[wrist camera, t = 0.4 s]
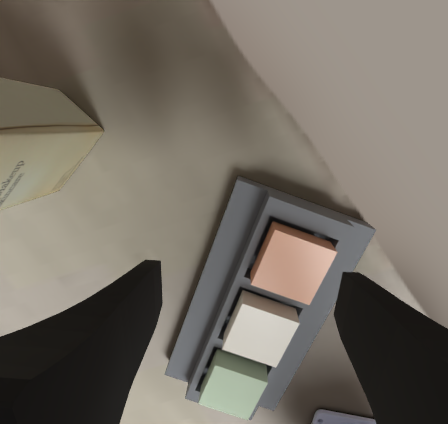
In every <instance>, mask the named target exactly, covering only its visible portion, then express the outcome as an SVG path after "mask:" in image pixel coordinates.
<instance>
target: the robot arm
mask: <svg viewBox="0 0 448 424" xmlns="http://www.w3.org/2000/svg"><path fill="white" fill-rule="evenodd" d="M161 307H162V279H161V261H156V260H145V261H143V262H142V263H140V264H139V265H137V266H136V267H134V268H133V269H132V270H130V271H129V272H127V273H126V274H124V275H123V276H122V277H120V278H119V279H117V280H116V281H114V282H113V283H111V284H110V285H108V286H107V287H105V288H103V289H102V290H100V291H99V292H97V293H95V294H94V295H92V296H91V297H89V298H87V299H85V300H84V301H82V302H80V303H78V304H76V305H74V306H72V307H70V308H69V309H67V310H65V311H63V312H61V313H58V314H56V315H54V316H52V317H49V318H47V319H45V320H42V321H40V322H38V323H35V324H33V325H31V326H28V327H26V328H23V329H21V330H18V331H15V332H13V333H10V334H7V335H4V336H1V337H0V424H119V423H120V420H121V417H122V414H123V410H124V407H125V404H126V401H127V398H128V394H129V391H130V389H131V386H132V383H133V381H134V378H135V376H136V373H137V371H138V368H139V366H140V364H141V361H142V359H143V357H144V354H145V352H146V350H147V347H148V345H149V342H150V340H151V338H152V335H153V333H154V330H155V328H156V325H157V322H158V318H159V315H160V311H161ZM334 317H335V321H336V324H337V328H338V331H339V334H340V338H341V340H342V343H343V345H344V347H345V349H346V352H347V354H348V356H349V359H350V361H351V363H352V365H353V368H354V370H355V372H356V374H357V376H358V379H359V381H360V383H361V385H362V388H363V390H364V392H365V394H366V397H367V399H368V402H369V404H370V407H371V409H372V412H373V415H374V418H375V419H370V418H365V417H360V416H354V415H349V414H344V413H338V412H333V411H328V410H323V409H319V410H317V411H316V412H315V415H314V418H313V421H312V423H311V424H448V329H447V328H445V327H444V326H442V325H440V324H438V323H437V322H435V321H433V320H432V319H430V318H428V317H427V316H425V315H423V314H422V313H420V312H418V311H417V310H415V309H414V308H412V307H411V306H409V305H407V304H406V303H404V302H403V301H401V300H400V299H398V298H397V297H395V296H394V295H392V294H391V293H389V292H388V291H387V290H385V289H384V288H382V287H381V286H379V285H378V284H376V283H375V282H373V281H372V280H370V279H369V278H367V277H365V276H364V275H362V274H360V273H357V272H343V273H342V278H341V282H340V287H339V292H338V297H337V301H336V306H335V311H334Z"/></svg>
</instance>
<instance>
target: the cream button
mask: <svg viewBox="0 0 448 424" xmlns="http://www.w3.org/2000/svg"><path fill="white" fill-rule="evenodd" d="M299 324H300V323H299V319H298V315H297V311H296V308H293V307H290V306H288V305H285V304H282V303H279V302H276V301H273V300H270V299H267V298H265V297H262V296H259V295H256V294H253V293H250V292H247V291H244V290H242V293H241V295H240V297H239V299H238V302H237V304H236V306H235V309H234V311H233V313H232V316H231V318H230V320H229V322H228V325H227V327H226V329H225V332H224V336H223V346H222V350H225V351H228V352H231V353H234V354H237V355H240V356H243V357H246V358H249V359H252V360H255V361H258V362H261V363H264V364H267V365H270V366H273V367H275V368H276V367H277V365H278V363H279V361H280V359H281V358H282V356H283V354H284V352H285V350H286V348H287V346H288V344H289V343H290V341H291V339H292V337H293V335H294V333H295V331H296V329H297V328H298V326H299Z"/></svg>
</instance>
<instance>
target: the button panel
mask: <svg viewBox="0 0 448 424" xmlns="http://www.w3.org/2000/svg"><path fill="white" fill-rule="evenodd" d="M272 221H274V222H277V223H280V224H283V225H286V226H288V227H291V228H294V229H297V230H300V231H302V232H305V233H308V234H311V235H313V236H316V237H319V238H322V239H325V240H327V241H330V242H331V243H332V245H333V246H334V248H335V249H336V251H337V252H338V253H337V254H336V256H335V258H334V260H333V262H332V264H331V266H330V268H329V269H328V271H327V273H326V275H325V277H324V279H323V281H322V283H321V284H320V286H319V288H318V290H317V292H316V294H315V296H314V298H313V299H312V301H311V303H310V305H307V304H304V303H301V302H299V301H296V300H293V299H290V298H287V297H284V296H281V295H278V294H276V293H273V292H270V291H267V290H264V289H261V288H258V287H256V286H253V285H251V277H250V272H251V270H252V267H253V265H254V263H255V260H256V258H257V256H258V253H259V251H260V249H261V247H262V244H263V242H264V240H265V237H266V235H267V233H268V230H269V228H270V226H271V224H272ZM375 231H376V230H375V229H374V228H373V227H372V226H371V225H370V224H368V223H367V222H364V221H362V220H359V219H356V218H353V217H351V216H348V215H345V214H342V213H340V212H337V211H334V210H331V209H329V208H326V207H323V206H320V205H318V204H315V203H312V202H309V201H307V200H304V199H301V198H298V197H296V196H293V195H290V194H287V193H285V192H282V191H279V190H276V189H274V188H271V187H268V186H265V185H263V184H260V183H257V182H254V181H252V180H249V179H246V178H243V177H241V176H238V177H237V180H236V182H235V185H234V188H233V190H232V193H231V196H230V198H229V201H228V204H227V206H226V209H225V212H224V215H223V217H222V220H221V223H220V225H219V228H218V231H217V233H216V236H215V239H214V241H213V244H212V247H211V249H210V252H209V255H208V257H207V260H206V263H205V266H204V268H203V271H202V274H201V276H200V279H199V282H198V284H197V287H196V290H195V292H194V295H193V298H192V300H191V303H190V306H189V308H188V311H187V314H186V317H185V319H184V322H183V325H182V327H181V330H180V333H179V335H178V338H177V341H176V343H175V346H174V349H173V351H172V354H171V357H170V360H169V362H168V366H167V369H166V372H165V375H167V376H170V377H173V378H176V379H179V380H182V381H185V382H188V387H187V391H186V396H185V399H188V400H191V401H194V402H197V403H198V401H199V395H200V389H201V385H202V382H203V380H204V378H205V375H206V373H207V371H208V369H209V366H210V364H211V362H212V359H213V357H214V355H215V352H216V350H217V348H218V349H221V350H222V346H223V336H224V332H225V329H226V327H227V325H228V322H229V320H230V318H231V316H232V313H233V311H234V309H235V306H236V304H237V302H238V299H239V297H240V295H241V293H242V290H244V291H247V292H250V293H253V294H256V295H259V296H262V297H265V298H267V299H270V300H273V301H276V302H279V303H282V304H285V305H288V306H290V307H293V308H296V311H297V315H298V319H299V323H300V324H299V326H298V328H297V329H296V331H295V333H294V335H293V337H292V339H291V341H290V343H289V344H288V346H287V348H286V350H285V352H284V354H283V356H282V358H281V359H280V361H279V363H278V365H277V367H276V368H275V367H273V366H270V365H267V364H265V365H266V366H267V377H268V384H267V386H266V388H265V389H264V391H263V393H262V395H261V397H260V399H259V401H258V403H257V404H256V406H255V408H254V410H253V412H252V414H251V416H250V418H249V420H251V419H252V418H253V416H254V414H255V412H256V410H257V408H258V406H261V407H264V408H267V409H270V410H273V411H274V410H275V408H276V406H277V405H278V403H279V401H280V399H281V398H282V396H283V394H284V392H285V390H286V389H287V387H288V385H289V383H290V382H291V380H292V378H293V376H294V375H295V373H296V371H297V369H298V367H299V366H300V364H301V362H302V360H303V359H304V357H305V355H306V353H307V352H308V350H309V348H310V346H311V344H312V343H313V341H314V339H315V337H316V336H317V334H318V332H319V330H320V329H321V327H322V325H323V323H324V322H325V320H326V318H327V316H328V314H329V313H330V311H331V309H332V307H333V306H334V304H335V302H336V300H337V297H338V292H339V287H340V282H341V278H342V273H343V272H353V270H354V268H355V267H356V265H357V263H358V261H359V260H360V258H361V256H362V254H363V253H364V251H365V249H366V247H367V245H368V244H369V242H370V240H371V238H372V237H373V235H374V233H375ZM224 351H225V350H224ZM227 352H228V351H227ZM230 353H231V352H230ZM233 354H234V353H233ZM236 355H237V354H236ZM238 356H240V355H238ZM241 357H243V356H241ZM244 358H246V357H244ZM247 359H249V358H247ZM250 360H252V359H250ZM253 361H255V360H253ZM256 362H258V361H256ZM259 363H261V362H259ZM262 364H264V363H262Z"/></svg>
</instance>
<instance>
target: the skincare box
mask: <svg viewBox="0 0 448 424" xmlns="http://www.w3.org/2000/svg"><path fill="white" fill-rule="evenodd" d="M103 132H104V131H103V129H102V128H101V127H100V126H98V125H97V124H96V123H95V122H94V121H93V120H92V119H91V118H90V117H89V116H88V115H87V114H85V113H84V112H83V111H82V110H81V109H80V108H79V107H78V106H77V105H75V104H74V103H73V102H72V101H71V100H70V99H69V98H68V97H66V96H65V95H64V94H63V93H62V92H61V91H60V90H58V89H55V88H50V87H45V86H40V85H35V84H30V83H25V82H21V81H16V80H11V79H6V78H1V77H0V210H3V209H6V208H9V207H12V206H15V205H18V204H21V203H24V202H27V201H30V200H33V199H36V198H39V197H42V196H45V195H48V194H51V193H54V192H57V191H59V190H60V189H61V188H62V186H63V185H64V184H65V183H66V181H67V180H68V179H69V178H70V176H71V175H72V174H73V173H74V171H75V170H76V169H77V167H78V166H79V165H80V163H81V162H82V161H83V159H84V158H85V157H86V156H87V154H88V153H89V152H90V150H91V149H92V148H93V146H94V145H95V144H96V142H97V141H98V140H99V138H100V137H101V135H102V134H103Z"/></svg>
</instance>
